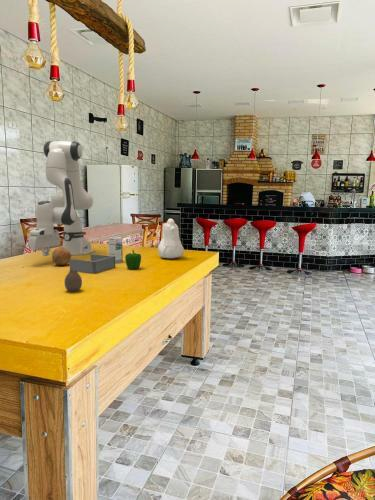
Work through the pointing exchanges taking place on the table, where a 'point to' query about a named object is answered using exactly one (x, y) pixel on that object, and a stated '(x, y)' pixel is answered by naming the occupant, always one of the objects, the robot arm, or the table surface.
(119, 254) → the syrup box
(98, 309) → the table surface
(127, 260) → the bell pepper
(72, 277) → the vase
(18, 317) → the table surface
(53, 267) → the table surface
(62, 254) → the onion
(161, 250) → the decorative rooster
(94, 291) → the table surface
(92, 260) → the box
